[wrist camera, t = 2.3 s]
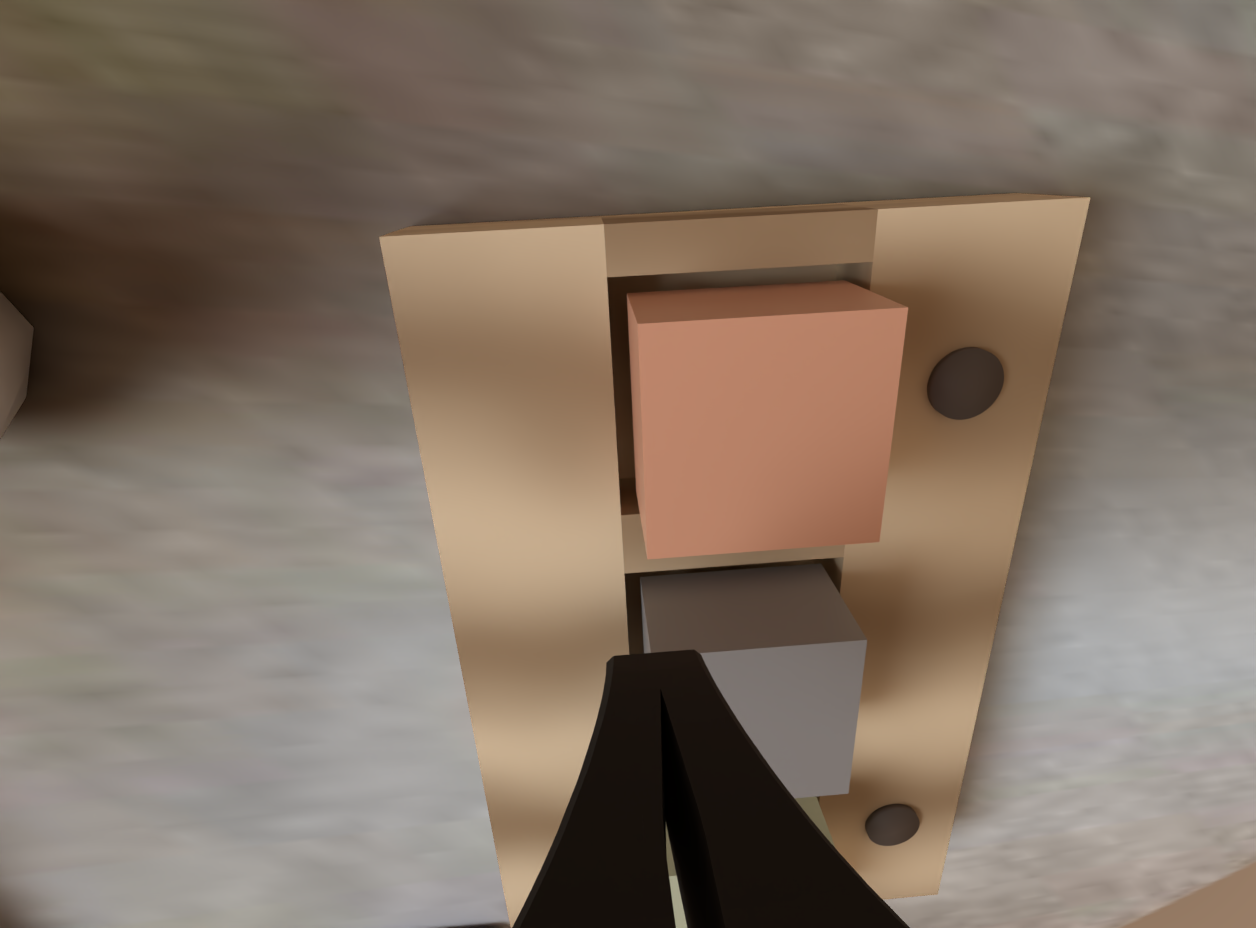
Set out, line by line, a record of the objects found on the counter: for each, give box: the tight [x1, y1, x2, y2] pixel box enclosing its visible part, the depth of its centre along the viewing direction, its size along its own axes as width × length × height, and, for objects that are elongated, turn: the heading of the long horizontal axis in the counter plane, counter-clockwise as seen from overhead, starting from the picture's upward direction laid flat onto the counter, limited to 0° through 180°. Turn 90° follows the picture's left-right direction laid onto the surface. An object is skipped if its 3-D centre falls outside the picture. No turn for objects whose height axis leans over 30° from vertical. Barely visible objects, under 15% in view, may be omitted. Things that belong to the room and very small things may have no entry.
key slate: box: [640, 563, 867, 798], centre depth 16 cm, size 5×5×3 cm
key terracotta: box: [627, 280, 908, 559], centre depth 14 cm, size 5×5×3 cm
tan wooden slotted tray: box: [379, 193, 1091, 928], centre depth 18 cm, size 21×14×3 cm, turn 3°
